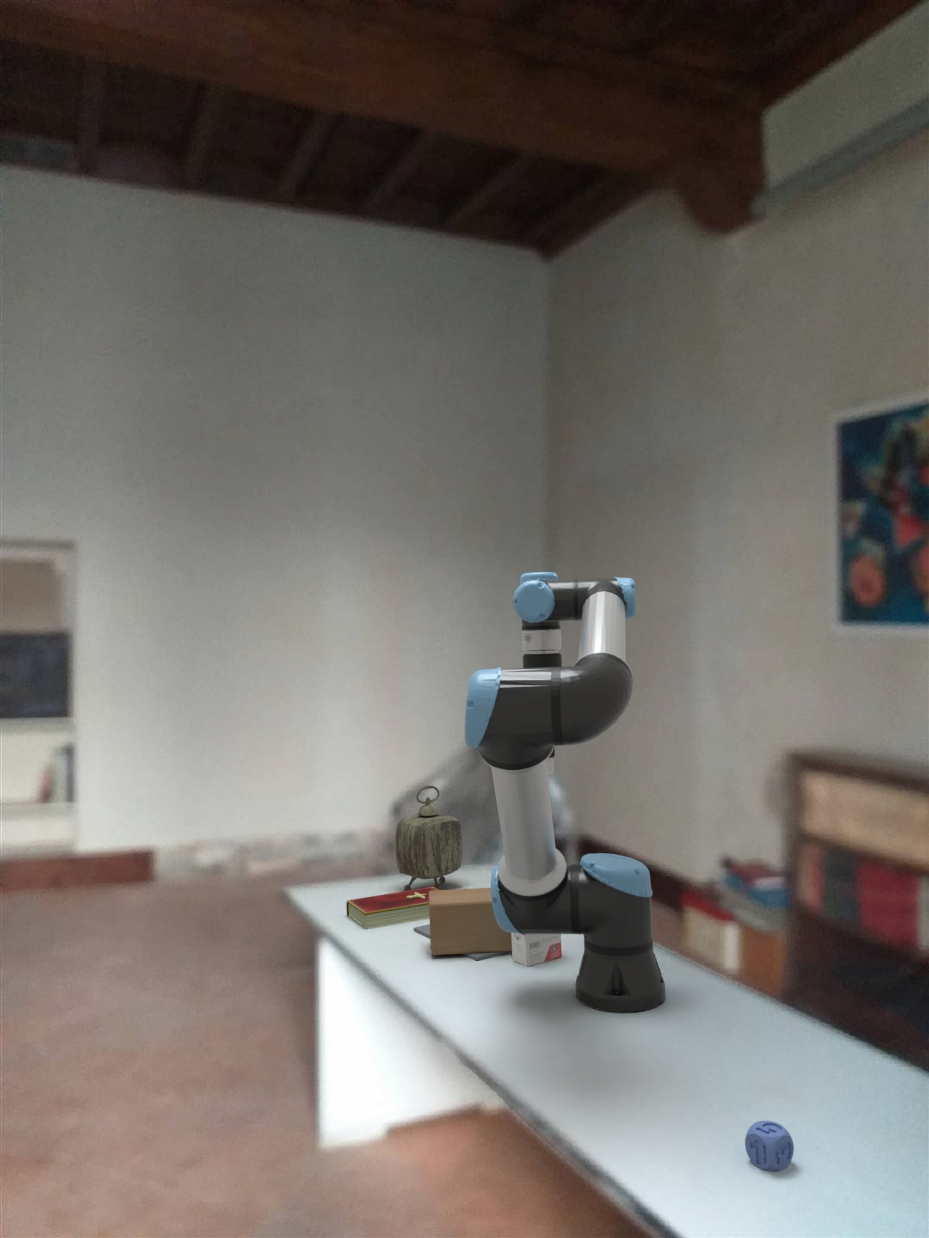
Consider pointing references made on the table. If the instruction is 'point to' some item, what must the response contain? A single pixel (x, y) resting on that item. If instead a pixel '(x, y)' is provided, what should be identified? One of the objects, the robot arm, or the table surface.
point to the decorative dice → (769, 1145)
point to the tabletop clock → (428, 843)
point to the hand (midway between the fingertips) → (546, 774)
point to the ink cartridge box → (535, 948)
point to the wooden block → (465, 923)
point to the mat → (476, 956)
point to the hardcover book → (390, 908)
